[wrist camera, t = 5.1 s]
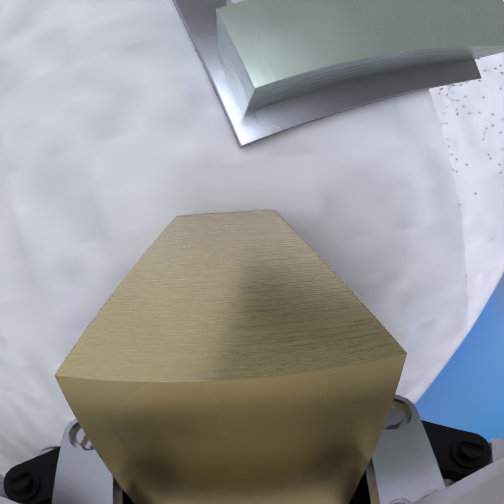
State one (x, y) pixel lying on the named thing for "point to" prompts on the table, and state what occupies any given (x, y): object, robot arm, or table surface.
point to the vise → (333, 53)
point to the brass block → (233, 370)
